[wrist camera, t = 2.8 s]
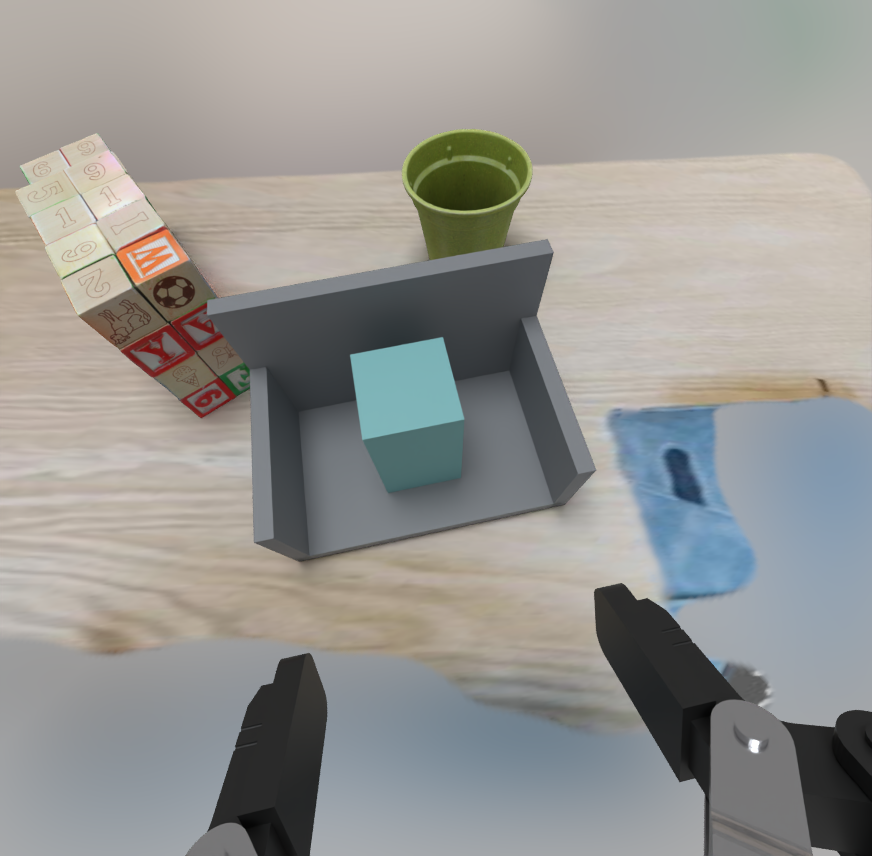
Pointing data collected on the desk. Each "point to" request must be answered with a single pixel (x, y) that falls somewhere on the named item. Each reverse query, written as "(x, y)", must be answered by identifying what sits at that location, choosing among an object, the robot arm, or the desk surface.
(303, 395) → the grey open tray
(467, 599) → the desk surface
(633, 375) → the desk surface
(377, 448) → the block
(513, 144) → the plant pot
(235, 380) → the stack of blocks
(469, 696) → the desk surface
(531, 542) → the desk surface
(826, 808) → the robot arm
